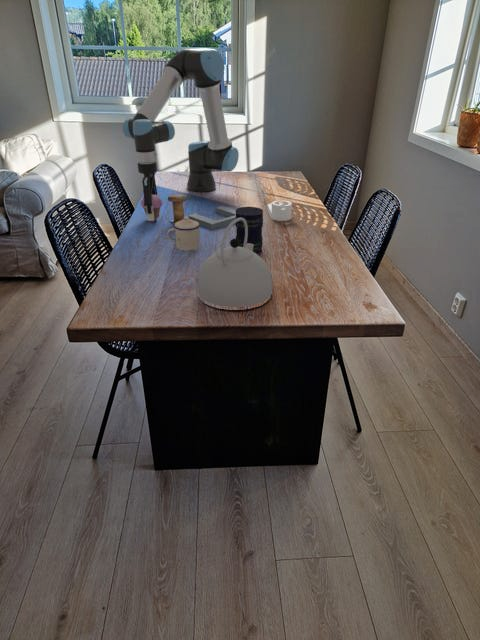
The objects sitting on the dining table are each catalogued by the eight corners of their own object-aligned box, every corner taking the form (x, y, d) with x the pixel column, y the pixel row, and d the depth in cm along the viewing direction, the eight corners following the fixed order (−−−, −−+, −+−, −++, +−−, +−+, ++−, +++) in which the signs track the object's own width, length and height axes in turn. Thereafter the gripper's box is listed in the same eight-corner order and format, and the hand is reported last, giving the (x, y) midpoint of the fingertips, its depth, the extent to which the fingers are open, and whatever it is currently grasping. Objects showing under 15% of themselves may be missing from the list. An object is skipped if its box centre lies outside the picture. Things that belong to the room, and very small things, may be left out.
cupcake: (141, 215, 192) (138, 192, 187) (161, 213, 194) (159, 190, 189) (144, 222, 185) (141, 198, 179) (165, 220, 187) (162, 196, 182)
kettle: (220, 269, 149) (218, 202, 138) (284, 280, 142) (288, 211, 130) (183, 301, 130) (178, 227, 118) (256, 317, 122) (258, 239, 110)
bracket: (292, 221, 193) (293, 205, 189) (272, 221, 192) (273, 206, 189) (285, 207, 210) (285, 193, 206) (266, 207, 209) (267, 193, 206)
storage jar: (243, 257, 157) (243, 216, 150) (230, 248, 165) (230, 209, 157) (267, 253, 161) (268, 212, 154) (254, 244, 169) (254, 205, 161)
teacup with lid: (201, 243, 169) (200, 213, 163) (199, 252, 162) (197, 221, 156) (170, 242, 170) (167, 213, 164) (166, 252, 162) (163, 221, 156)
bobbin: (166, 222, 190) (163, 196, 184) (180, 218, 195) (179, 193, 189) (177, 227, 185) (175, 200, 179) (192, 222, 190) (191, 197, 184)
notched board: (188, 221, 192) (187, 215, 190) (222, 211, 204) (222, 205, 202) (212, 230, 182) (212, 224, 181) (246, 219, 194) (246, 213, 193)
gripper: (151, 168, 168) (157, 225, 180) (160, 156, 186) (165, 208, 198) (131, 168, 168) (139, 225, 180) (142, 156, 187) (149, 208, 198)
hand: (153, 216), depth 189 cm, fingers closed on cupcake, 9 cm apart
